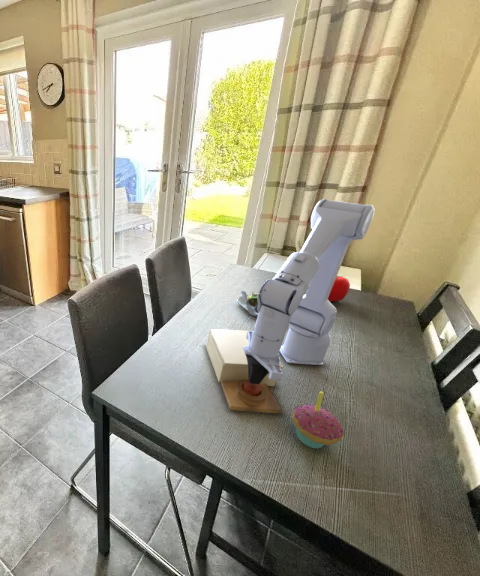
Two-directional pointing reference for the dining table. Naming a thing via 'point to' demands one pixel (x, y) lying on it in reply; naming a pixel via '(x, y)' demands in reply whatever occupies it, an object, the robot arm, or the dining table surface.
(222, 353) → the lid
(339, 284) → the tomato
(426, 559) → the dining table surface
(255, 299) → the salad plate
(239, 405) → the wooden base board
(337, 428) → the cupcake
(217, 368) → the bin
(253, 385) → the button
